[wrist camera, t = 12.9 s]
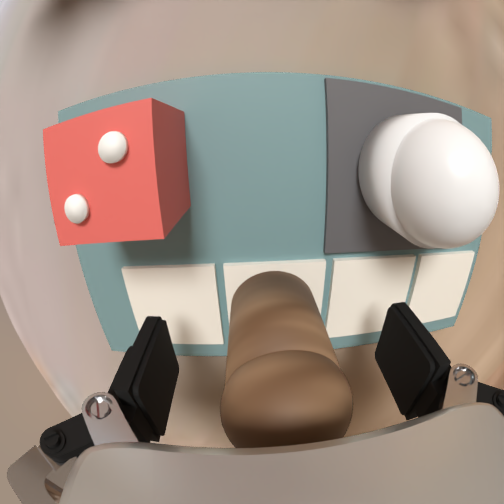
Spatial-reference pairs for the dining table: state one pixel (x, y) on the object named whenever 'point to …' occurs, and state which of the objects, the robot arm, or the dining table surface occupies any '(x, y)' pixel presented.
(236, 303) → the brown rounded capsule
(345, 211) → the board
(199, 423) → the dining table surface
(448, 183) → the dome
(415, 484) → the robot arm
